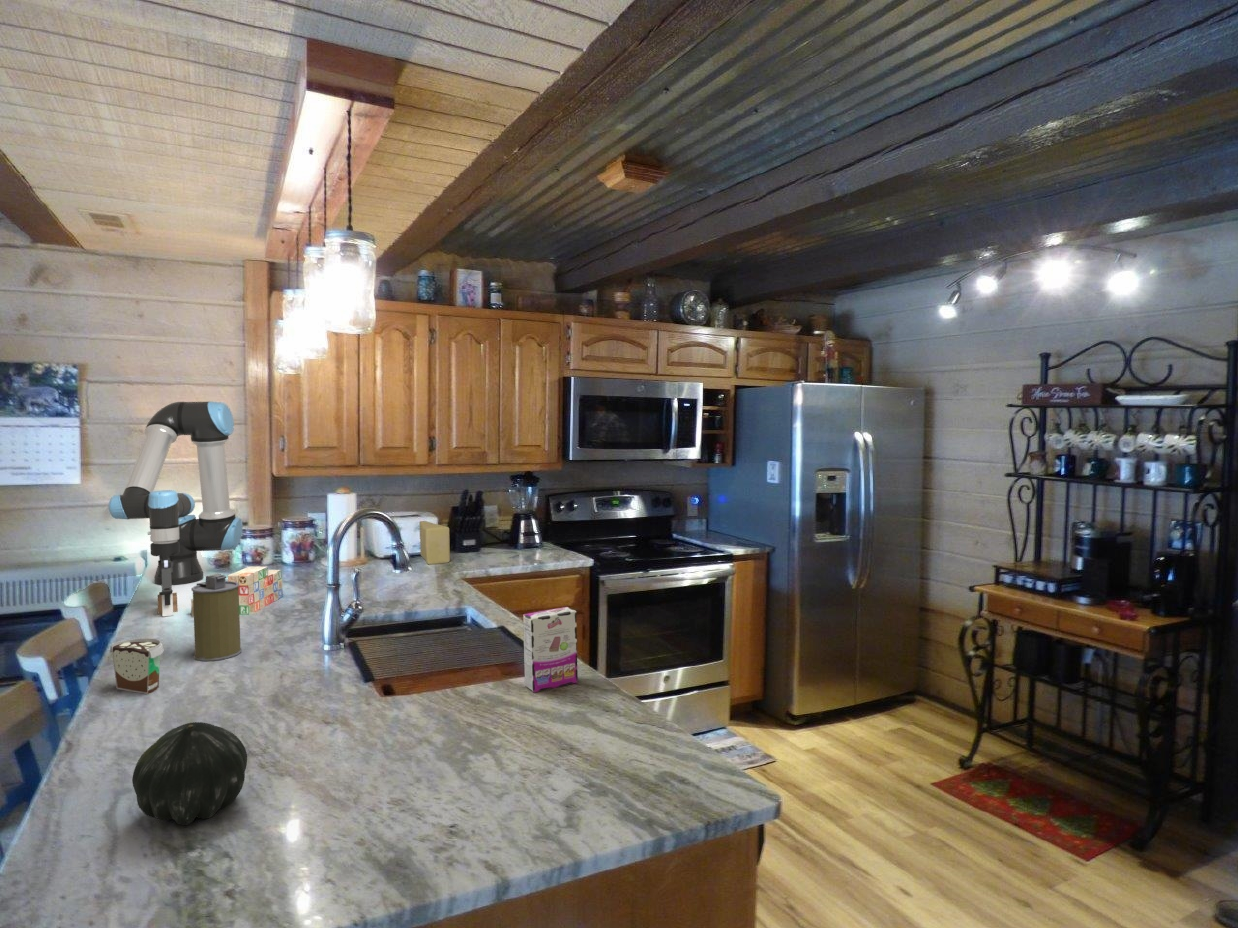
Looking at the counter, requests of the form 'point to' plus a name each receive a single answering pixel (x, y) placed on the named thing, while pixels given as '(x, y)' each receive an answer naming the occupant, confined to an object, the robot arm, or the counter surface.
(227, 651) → the canister
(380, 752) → the counter surface
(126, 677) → the food container
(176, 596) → the walnut cube
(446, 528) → the cheese
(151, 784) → the squash
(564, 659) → the candy bar box
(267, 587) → the stack of blocks
